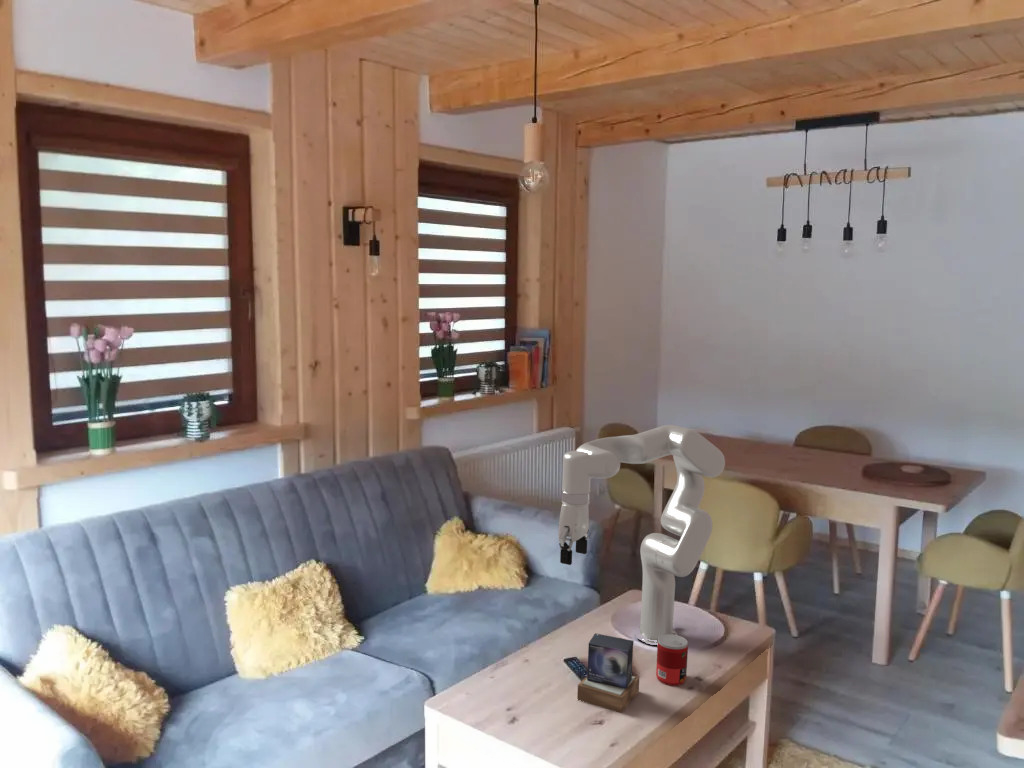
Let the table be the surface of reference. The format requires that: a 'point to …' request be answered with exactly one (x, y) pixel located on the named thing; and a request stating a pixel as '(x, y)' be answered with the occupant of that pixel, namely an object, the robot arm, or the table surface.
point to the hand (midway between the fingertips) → (573, 558)
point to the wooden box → (608, 694)
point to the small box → (610, 660)
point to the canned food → (672, 659)
